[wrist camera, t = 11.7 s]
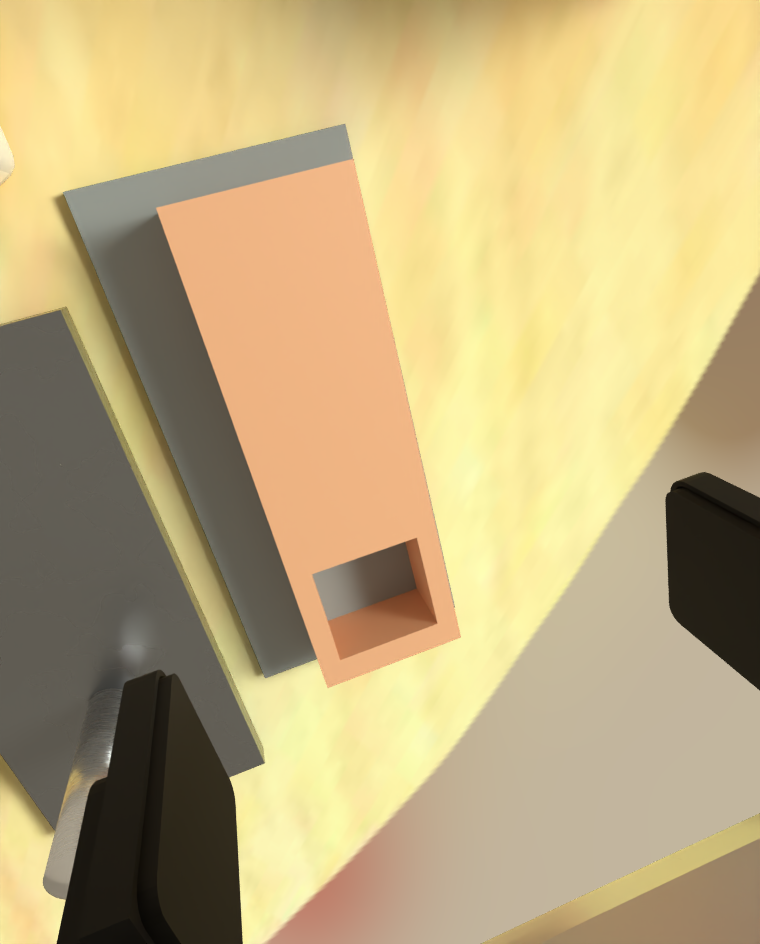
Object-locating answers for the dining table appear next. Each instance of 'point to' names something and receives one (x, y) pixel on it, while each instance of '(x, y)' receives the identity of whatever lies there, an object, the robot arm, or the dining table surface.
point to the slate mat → (217, 389)
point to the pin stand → (86, 587)
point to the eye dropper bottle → (5, 159)
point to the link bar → (317, 399)
